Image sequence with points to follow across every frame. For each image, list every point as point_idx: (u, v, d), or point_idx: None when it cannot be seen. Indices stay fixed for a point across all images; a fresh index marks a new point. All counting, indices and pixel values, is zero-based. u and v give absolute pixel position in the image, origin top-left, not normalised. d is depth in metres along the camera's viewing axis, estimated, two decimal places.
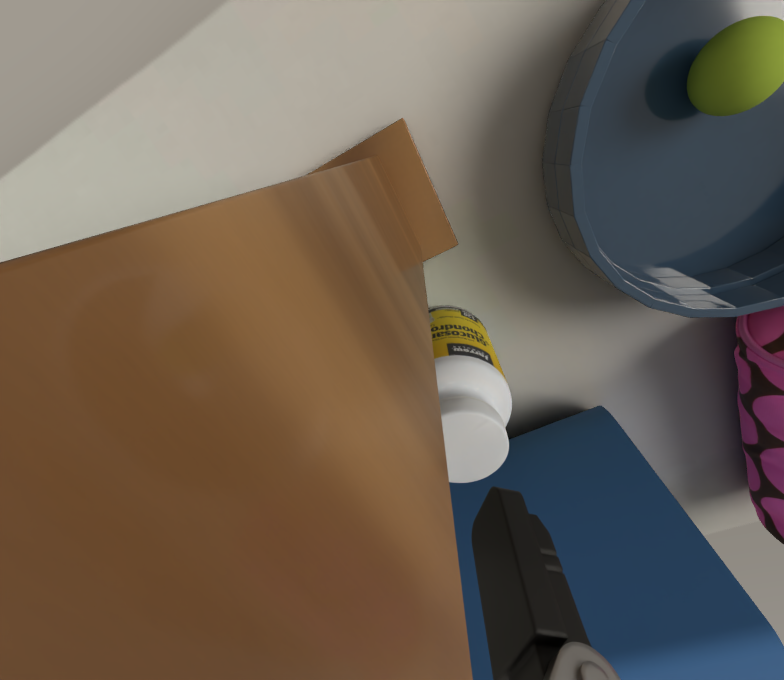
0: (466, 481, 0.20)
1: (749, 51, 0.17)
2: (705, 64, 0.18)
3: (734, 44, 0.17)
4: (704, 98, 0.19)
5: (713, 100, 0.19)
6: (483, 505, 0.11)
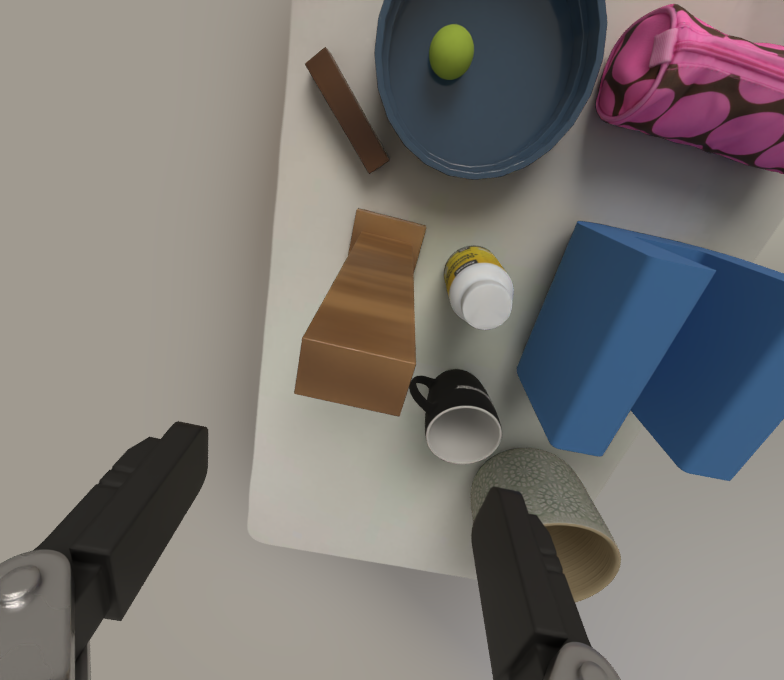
0: (506, 318, 0.36)
1: (441, 55, 0.33)
2: (435, 70, 0.34)
3: (435, 57, 0.33)
4: (450, 78, 0.35)
5: (453, 75, 0.34)
6: (483, 505, 0.11)
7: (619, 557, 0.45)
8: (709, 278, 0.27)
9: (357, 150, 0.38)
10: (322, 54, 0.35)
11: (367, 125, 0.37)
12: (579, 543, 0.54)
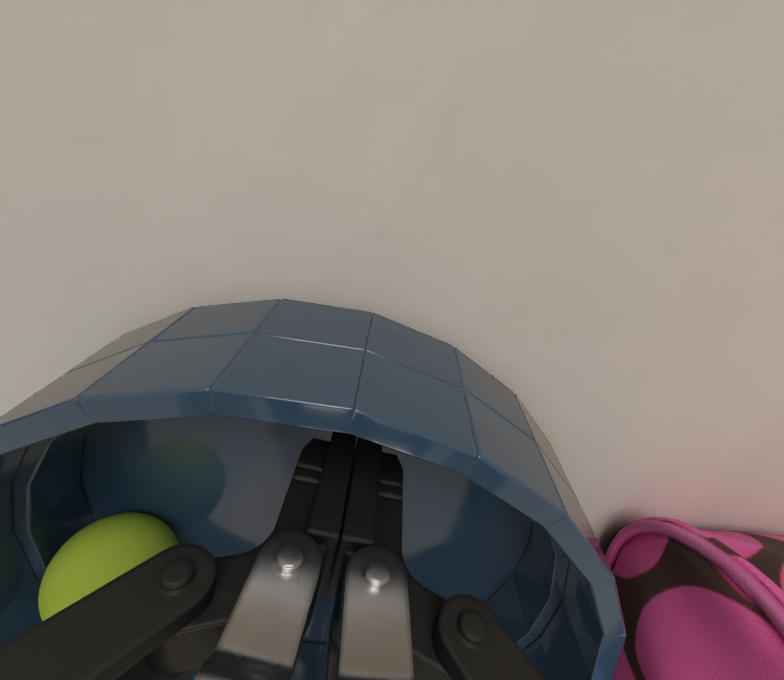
0: None
1: None
2: None
3: None
4: None
5: None
6: (354, 449, 0.12)
7: None
8: None
9: None
10: None
11: None
12: None
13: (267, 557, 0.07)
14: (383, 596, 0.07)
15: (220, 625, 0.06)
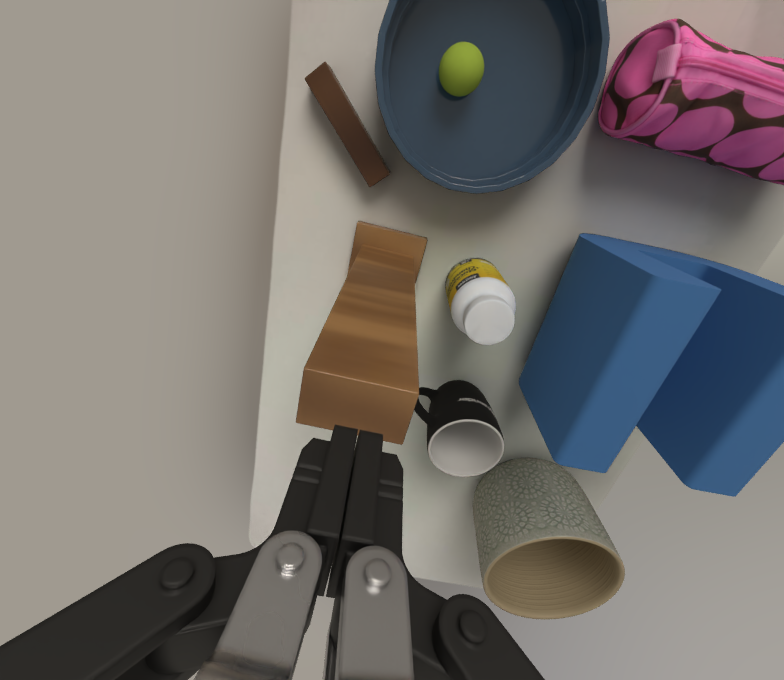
0: (508, 334, 0.36)
1: (460, 71, 0.32)
2: (447, 84, 0.34)
3: (452, 72, 0.33)
4: (459, 95, 0.34)
5: (464, 93, 0.34)
6: (354, 449, 0.12)
7: (623, 570, 0.45)
8: (714, 297, 0.27)
9: (357, 164, 0.38)
10: (322, 69, 0.35)
11: (367, 139, 0.37)
12: (582, 553, 0.54)
13: (267, 557, 0.07)
14: (383, 596, 0.07)
15: (220, 625, 0.06)
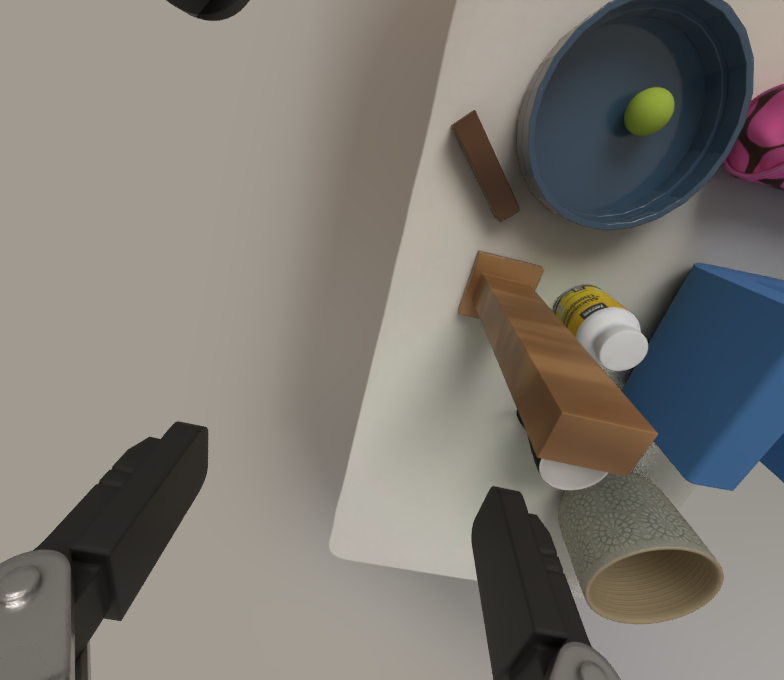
0: (640, 361, 0.38)
1: None
2: (666, 122, 0.36)
3: None
4: None
5: None
6: (483, 505, 0.11)
7: (722, 578, 0.48)
8: None
9: (491, 201, 0.41)
10: (471, 116, 0.37)
11: (504, 179, 0.40)
12: (668, 561, 0.57)
13: None
14: None
15: None
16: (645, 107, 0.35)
